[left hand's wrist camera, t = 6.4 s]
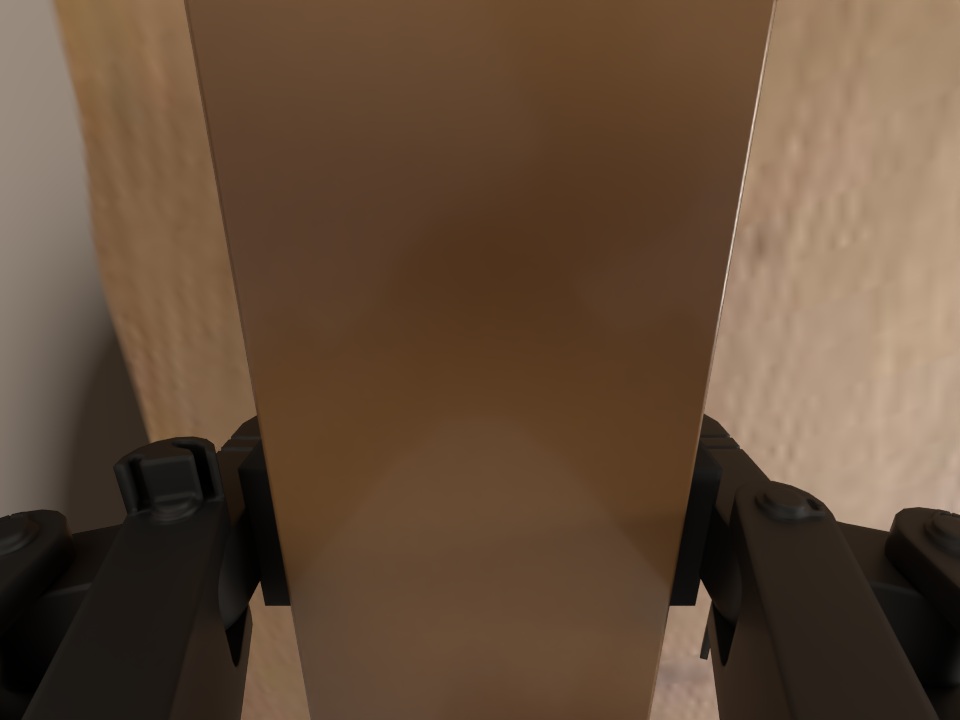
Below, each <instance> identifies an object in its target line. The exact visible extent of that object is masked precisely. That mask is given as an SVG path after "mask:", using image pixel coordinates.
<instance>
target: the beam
mask: <svg viewBox="0 0 960 720" xmlns="http://www.w3.org/2000/svg"><path fill="white" fill-rule="evenodd" d="M184 3H185V9H186V15H187V20H188V26H189V32H190V37H191V43H192V49H193V54H194V60H195V66H196V71H197V77H198V83H199V88H200V94H201V100H202V105H203V111H204V117H205V122H206V128H207V134H208V139H209V145H210V151H211V156H212V162H213V168H214V173H215V179H216V185H217V190H218V196H219V202H220V207H221V213H222V219H223V224H224V230H225V236H226V241H227V247H228V253H229V258H230V264H231V270H232V275H233V281H234V287H235V292H236V298H237V304H238V309H239V315H240V321H241V326H242V332H243V338H244V343H245V349H246V355H247V360H248V366H249V372H250V377H251V383H252V389H253V394H254V400H255V406H256V411H257V417H258V423H259V428H260V434H261V440H262V445H263V451H264V457H265V462H266V468H267V473H268V479H269V485H270V490H271V496H272V502H273V507H274V513H275V519H276V524H277V530H278V536H279V541H280V547H281V553H282V558H283V564H284V570H285V575H286V581H287V587H288V592H289V598H290V604H291V609H292V615H293V621H294V626H295V632H296V638H297V643H298V649H299V655H300V660H301V666H302V672H303V677H304V683H305V689H306V694H307V700H308V706H309V711H310V717H311V720H649V718H650V712H651V707H652V701H653V696H654V690H655V684H656V679H657V673H658V667H659V662H660V656H661V651H662V645H663V639H664V634H665V628H666V622H667V617H668V611H669V606H670V600H671V594H672V589H673V583H674V578H675V572H676V566H677V561H678V555H679V549H680V544H681V538H682V533H683V527H684V521H685V516H686V510H687V504H688V499H689V493H690V488H691V482H692V476H693V471H694V465H695V459H696V454H697V448H698V443H699V437H700V431H701V426H702V420H703V415H704V409H705V403H706V398H707V392H708V386H709V381H710V375H711V370H712V364H713V358H714V353H715V347H716V341H717V336H718V330H719V325H720V319H721V313H722V308H723V302H724V297H725V291H726V285H727V280H728V274H729V268H730V263H731V257H732V252H733V246H734V240H735V235H736V229H737V223H738V218H739V212H740V207H741V201H742V195H743V190H744V184H745V178H746V173H747V167H748V162H749V156H750V150H751V145H752V139H753V134H754V128H755V122H756V117H757V111H758V105H759V100H760V94H761V89H762V83H763V77H764V72H765V66H766V60H767V55H768V49H769V44H770V38H771V32H772V27H773V21H774V16H775V10H776V4H777V0H184Z"/></svg>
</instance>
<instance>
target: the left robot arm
mask: <svg viewBox="0 0 960 720" xmlns="http://www.w3.org/2000/svg"><path fill="white" fill-rule="evenodd" d="M113 468H114V472H115V475H116V478H117V481H118V485H119V488H120V491H121V494H122V498H123V501H124V504H125V507H126V511H127V514H128V515H127V517H126V519H125V521H124V522H123V524H120V525H116V526H111V527H106V528H101V529H96V530H91V531H85V532H80V533H75V534H72V533H71V530H70V527H69V525H68V522H67V519H66V517H65V516H64V515H62V514H61V513H60V512H58V511H52V510H35V511H28V512H20V513H15V514H12V515H11V516H9V515H8V516H5V517H2V518H0V720H241V712H242V704H243V696H244V688H245V681H246V673H247V665H248V657H249V650H250V642H251V634H252V626H253V623H252V616H251V611H250V606H249V601H250V599H251V597H252V595H253V593H254V591H255V589H256V587H257V585H258V583H259V582H261V587H262V592H263V597H264V602H265V606H291V604H290V598H289V592H288V587H287V581H286V575H285V570H284V564H283V558H282V553H281V547H280V541H279V536H278V530H277V524H276V519H275V513H274V507H273V502H272V496H271V490H270V485H269V479H268V473H267V468H266V462H265V457H264V451H263V445H262V440H261V434H260V428H259V423H258V417H257V416H255V417H253V418H252V419H250V420H248V421H246V422H245V423H243V424H242V425H241V426H240V427H239V429H238V430H237V431H236V432H235V433H234V434H233V435H232V436H231V440H228V441H227V442H226V443H225V444H224V445H223V447H222V448H221V451H218V452H217V453H216V451H215V447H214V444H213V443H211V442H210V441H208V440H207V439H204V438H198V437H175V438H171V439H166V440H161V441H157V442H154V443H151V444H148V445H146V446H143V447H140V448H138V449H136V450H134V451H133V452H131V453H129V454H127V455H126V456H124V457H122V458H121V459H120V460H119V461H118V462H117V463H116V464H115V465H114V467H113ZM700 579H701V580H702V582H703V584H704V586H705V588H706V590H707V592H708V593H709V595H710V597H711V599H712V602H711V606H710V611H709V615H708V620H707V624H706V629H705V633H704V638H703V643H702V647H701V654H700V658H702V659H706V660H707V658H708V654H709V649H710V648H711V656H712V664H713V672H714V679H715V687H716V695H717V703H718V710H719V718H720V720H960V515H958V514H955V513H952V514H951V513H950V512H948V511H944V510H939V509H937V510H936V509H929V508H921V507H916V508H906V509H903V510H901V511H900V512H898V513H897V514H896V515H895V518H894V520H893V523H892V526H891V529H890V531H889V532H887V531H882V530H877V529H872V528H867V527H861V526H856V525H851V524H846V523H842V522H838V521H836V520H835V518H834V516H833V514H832V513H831V511H830V510H829V509H828V508H827V507H826V505H825V504H824V503H823V502H821V501H820V500H818V499H817V498H815V497H814V496H813V495H811V494H810V493H808V492H805V491H803V490H801V489H798V488H796V487H794V486H791V485H787V484H783V483H779V482H775V481H770V480H769V478H768V477H767V476H766V475H765V474H764V473H763V472H762V471H761V469H760V468H759V467H758V466H757V465H756V464H755V463H754V462H753V461H752V459H751V458H750V457H749V456H748V455H747V454H746V453H745V452H744V451H743V449H740V446H739V445H738V444H737V443H736V442H735V440H734V439H733V438H730V435H729V434H728V433H727V432H726V430H725V429H724V428H723V427H722V426H721V425H720V424H719V423H718V422H717V421H716V420H714V419H712V418H710V417H709V416H707V415H705V414H704V415H703V420H702V426H701V431H700V437H699V443H698V448H697V454H696V459H695V465H694V471H693V476H692V482H691V488H690V493H689V499H688V504H687V510H686V516H685V521H684V527H683V533H682V538H681V544H680V549H679V555H678V561H677V566H676V572H675V578H674V583H673V589H672V594H671V600H670V606H695V603H696V599H697V594H698V589H699V584H700Z"/></svg>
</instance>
